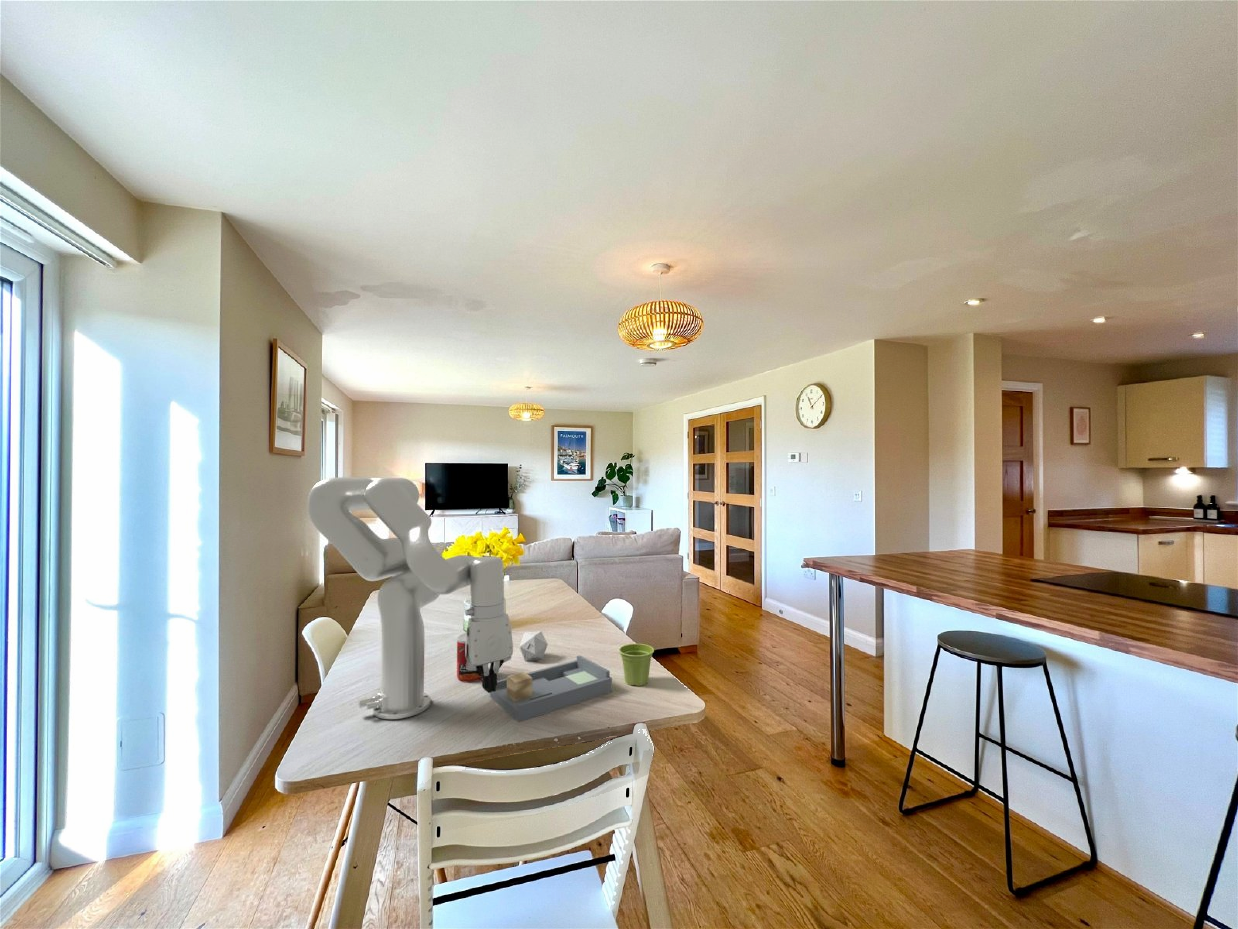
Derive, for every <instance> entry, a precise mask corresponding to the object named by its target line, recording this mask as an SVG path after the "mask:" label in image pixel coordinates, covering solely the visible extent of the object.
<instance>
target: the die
mask: <svg viewBox="0 0 1238 929" xmlns="http://www.w3.org/2000/svg"><path fill="white" fill-rule="evenodd" d="M548 646H549V644H548V642H547V640H546V637H545V635H544V633H543V631H541V630H539V631H538V630H537V631H526V632H524V633H523V635H522V638H521V640H520V644H519V651H520V653H521V655H522V657H523V659H524V662H529V661H531V662H532V661H542V660H543V658H544V656H545V653H546V651H547V648H548Z"/></svg>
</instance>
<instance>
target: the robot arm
mask: <svg viewBox="0 0 1238 929" xmlns="http://www.w3.org/2000/svg"><path fill="white" fill-rule="evenodd" d="M419 500H420V491H419V488H418V487H417V484H415V483H414V482H413V481H411V480H410V479H408V478H406V477H405V478H404V477H369V476H368V477H365V476H364V477H361V476H360V477H359V476H357V477H351V476H350V477H347V476H346V477H344V476H342V477H331V478H325V479H323V480H321V481H320V480H319V482H317V483H316V484H315V485H313V487H312V488H311V489H310V491H309V493H308V496H307V512H308V515H309V518H310V519H309V520H310V521H311V523H312V524H313V526H314V527H315V529H317V531H318V532H319V533H320V534H322V536H323V537H324V538H326V540H328V542H330V543H331V545H333V547H334V548H335V549H336V550H337V551H338V553H339V554H340V555H341V556H342V557H343V558H344V559H345V561H347V562H348V564H349V565H350V566H351V567H352V568H353V569H354V570H355V572H356V573H357V574H358V575H359V576H360V577H361V578H363V579H364V580H366V581H369V582H376V581H381V580H384V579H387V578H388V579H387V580H385V581H384V583H382V585H381V587H380V589H378V593H377V600H376V601H377V608H378V613H379V619H380V635H381V636H380V638H381V639H380V688H378V689H376V693H374V694H373V695H372V696H369V697H363V698H359V699H357V708H358V709H361V708H365V709H366V710H371V709H372V713H373V715H374V716H375V717H377V718H380V719H381V720H382V719H383V720H399V719H400V720H402V719H405V718H410V717H412V716H413V717H414V716H415V715H419V714H421V713H423V712H424V711H426V710H427V709H428V708H429V707H430V705H431V704H432V701H431V700H432V699H431V696H430V695H429V694H428V693H426V692H425V646H426V645H425V644H426V643H425V642H426V641H425V640H426V639H425V625H424V620H423V617H422V614H421V609H423V607H426V606H428V605H429V604H431V603H433V602H435V601H436V600H437V599H438V598H439V597H440V595H449V594H452V593H454V592H456V591H459V590H460V589H463V588H466V587H468V586H470V604H469V608H468V609H465V610H464V613H465V616H469V618H468V620H467V625H466V626H467V627H466V631H465V632H466V644H465V656H466V660H467V663H466V669H468V670H478V671H479V672H481V673H482V679H481V681H482V682H481V686H482V689H483V690H484V691H485V692H487V693H488V694H490V693H491V692H492V691H493V692H495V691H496V686H497V681H498V673H500V668H501V667H502V666H503V664H504V663H507V662H509V661H510V660H511V659H512V656H513V653H514V642H513V634H512V626H511V621H510V616H509V613H506V612H505V584H504V582H505V581H504V580H505V579H504V574H505V573H504V561H503V559H502V558H501V557H499V556H489V555H488V556H486V555H485V556H472V555H466V554H460V555H456V556H452V557H449V558H444V556H442V555H441V553H439V551H438V550H437V549H436V548H435V547H434V545H433V543H432V542H431V541H430V538H429V537H430V536H429V530H430V528H431V525H432V523H433V521H432V518H431V516H429V514H428V513H427V512H426V511H425V510H424V509H423V508H422V507H421V505H419V504H418V502H419ZM365 510H366V511H372V513H374V514H375V515H376V516H377V517H378V519H379V520H381V522H382V523H383V524H384V525H385V526H386V527H387V528H388V530H389V531H390V532H392V534H394V536H395V537H389V538H381V537H380V536H378V535H377V534H376V533H375V532H374V531H373V530H372V529H371V527H369V525H368V524H367V523H366V522H364V521H363V520H361V519H360V518H359V517H358V516H355V515H354V514H352V513H351V512H355V511H365Z"/></svg>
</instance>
